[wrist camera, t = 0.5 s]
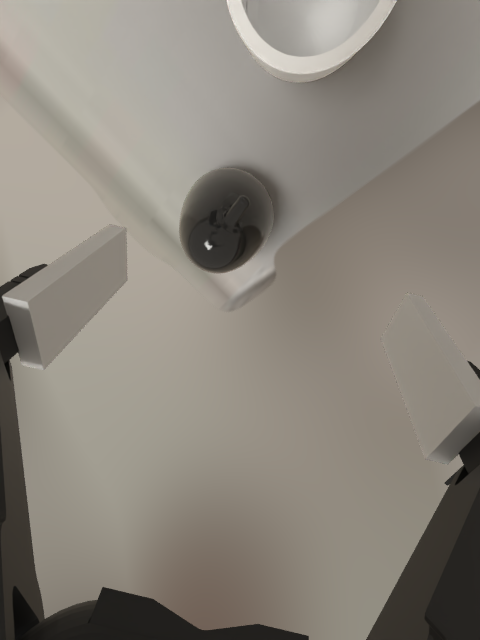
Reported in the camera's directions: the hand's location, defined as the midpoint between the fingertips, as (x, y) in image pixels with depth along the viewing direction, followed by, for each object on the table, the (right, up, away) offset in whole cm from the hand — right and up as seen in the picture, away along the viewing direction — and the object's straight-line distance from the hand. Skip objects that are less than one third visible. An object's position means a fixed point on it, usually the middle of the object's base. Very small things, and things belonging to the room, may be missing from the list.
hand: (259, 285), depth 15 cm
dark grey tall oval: (-2, +13, +25) cm, 28 cm away
